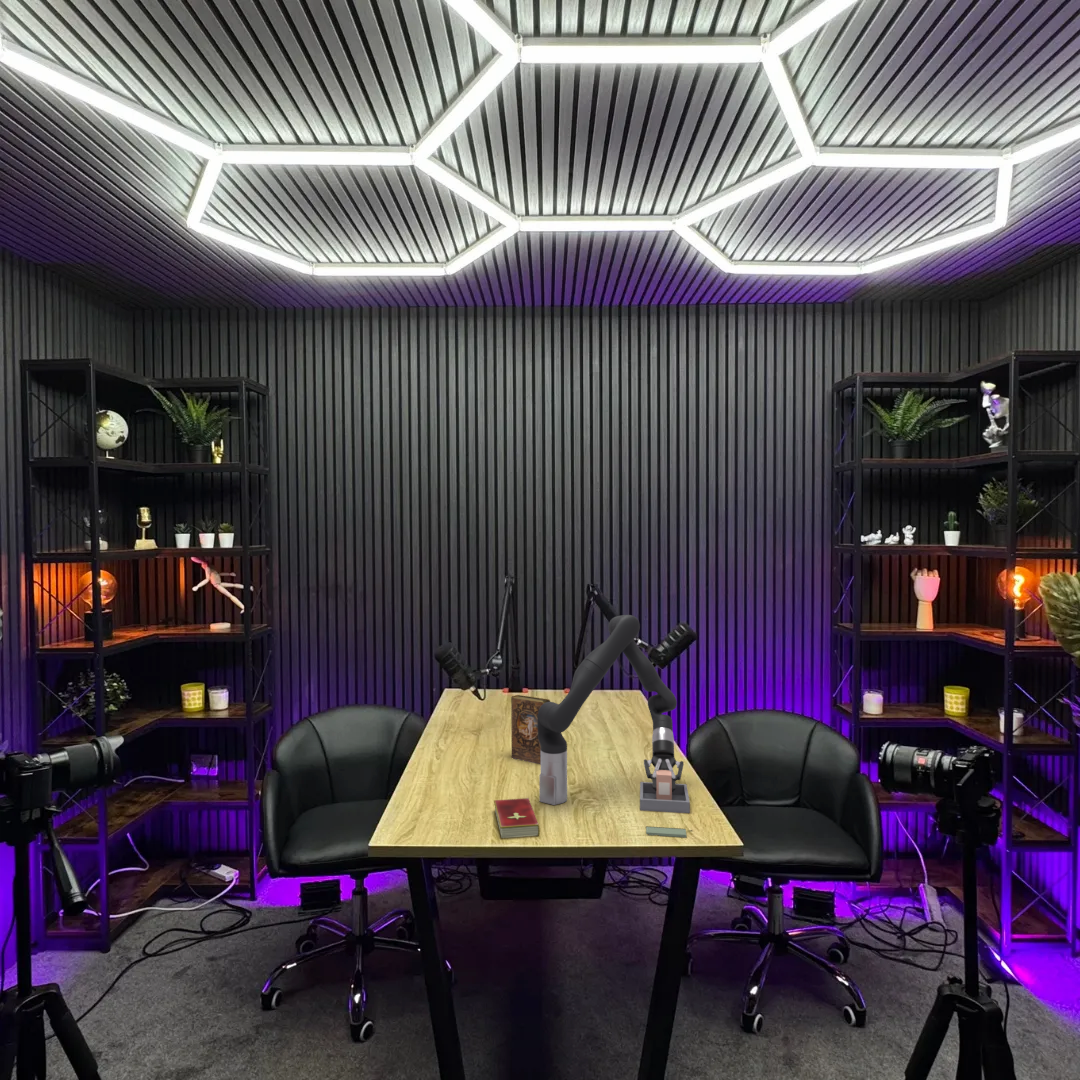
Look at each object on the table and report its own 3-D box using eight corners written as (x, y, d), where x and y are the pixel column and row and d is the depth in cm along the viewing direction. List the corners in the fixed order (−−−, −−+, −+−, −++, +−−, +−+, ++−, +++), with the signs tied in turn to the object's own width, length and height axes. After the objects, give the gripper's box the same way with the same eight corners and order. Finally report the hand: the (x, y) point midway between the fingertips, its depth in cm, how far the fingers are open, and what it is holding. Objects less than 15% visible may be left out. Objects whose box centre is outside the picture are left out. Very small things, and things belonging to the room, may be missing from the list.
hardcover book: (529, 809, 225) (529, 797, 225) (539, 837, 204) (539, 823, 204) (493, 811, 223) (493, 799, 223) (500, 840, 202) (500, 826, 202)
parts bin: (689, 816, 218) (689, 802, 218) (639, 813, 220) (639, 799, 220) (686, 797, 234) (686, 784, 233) (640, 794, 236) (640, 781, 236)
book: (509, 758, 275) (509, 697, 275) (516, 754, 280) (516, 694, 280) (543, 764, 267) (543, 702, 267) (550, 760, 272) (550, 699, 271)
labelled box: (671, 805, 224) (671, 775, 224) (656, 804, 225) (656, 775, 224) (671, 799, 229) (671, 770, 229) (656, 798, 230) (656, 769, 230)
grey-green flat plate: (686, 837, 202) (686, 834, 202) (646, 834, 204) (646, 832, 204) (684, 820, 214) (684, 818, 214) (646, 818, 216) (646, 816, 216)
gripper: (642, 737, 235) (642, 784, 223) (684, 739, 233) (686, 786, 221) (642, 748, 240) (642, 794, 229) (683, 749, 238) (685, 796, 226)
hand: (664, 790), depth 225 cm, fingers closed on labelled box, 5 cm apart
